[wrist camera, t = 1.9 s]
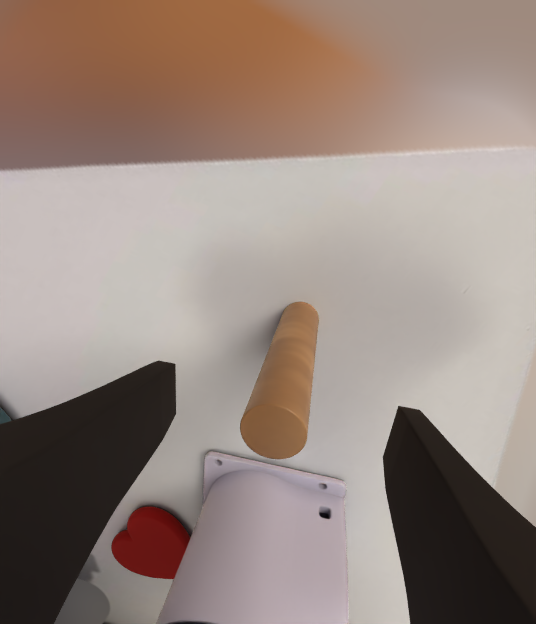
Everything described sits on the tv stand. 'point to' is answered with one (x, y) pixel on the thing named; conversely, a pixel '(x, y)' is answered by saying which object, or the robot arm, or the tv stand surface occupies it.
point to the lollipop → (151, 543)
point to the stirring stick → (284, 387)
